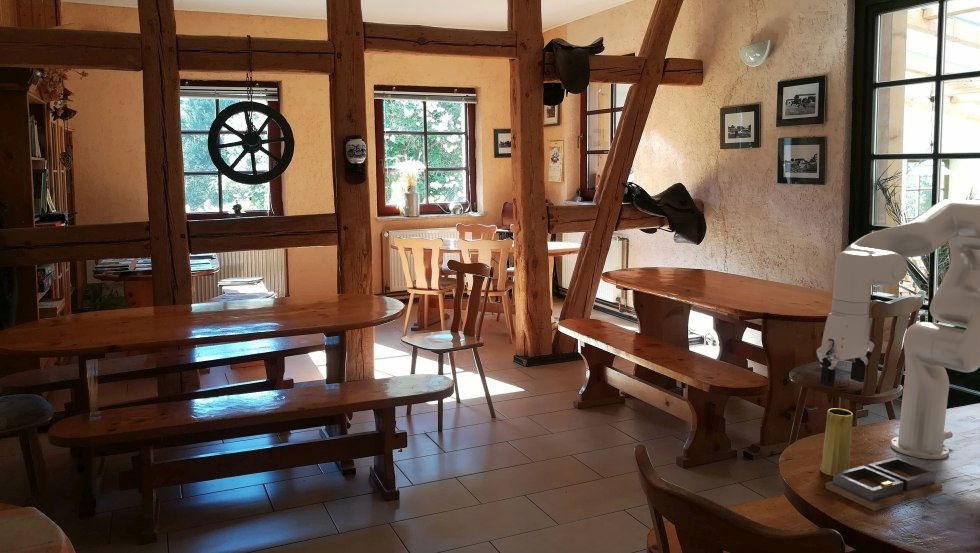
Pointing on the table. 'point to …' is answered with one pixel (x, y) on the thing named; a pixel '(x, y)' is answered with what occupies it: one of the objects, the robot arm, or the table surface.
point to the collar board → (887, 501)
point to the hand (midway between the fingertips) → (842, 383)
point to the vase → (837, 441)
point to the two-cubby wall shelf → (884, 479)
